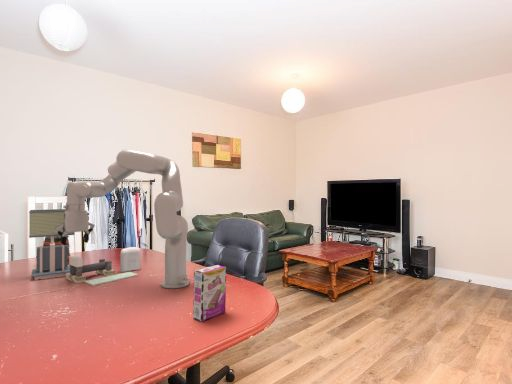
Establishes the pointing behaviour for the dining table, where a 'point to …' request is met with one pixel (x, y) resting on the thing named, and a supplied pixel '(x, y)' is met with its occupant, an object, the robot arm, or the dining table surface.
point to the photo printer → (130, 259)
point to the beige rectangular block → (76, 261)
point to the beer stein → (58, 242)
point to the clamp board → (105, 272)
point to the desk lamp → (52, 256)
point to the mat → (110, 278)
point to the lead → (89, 268)
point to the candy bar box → (209, 292)
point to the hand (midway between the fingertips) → (75, 243)
